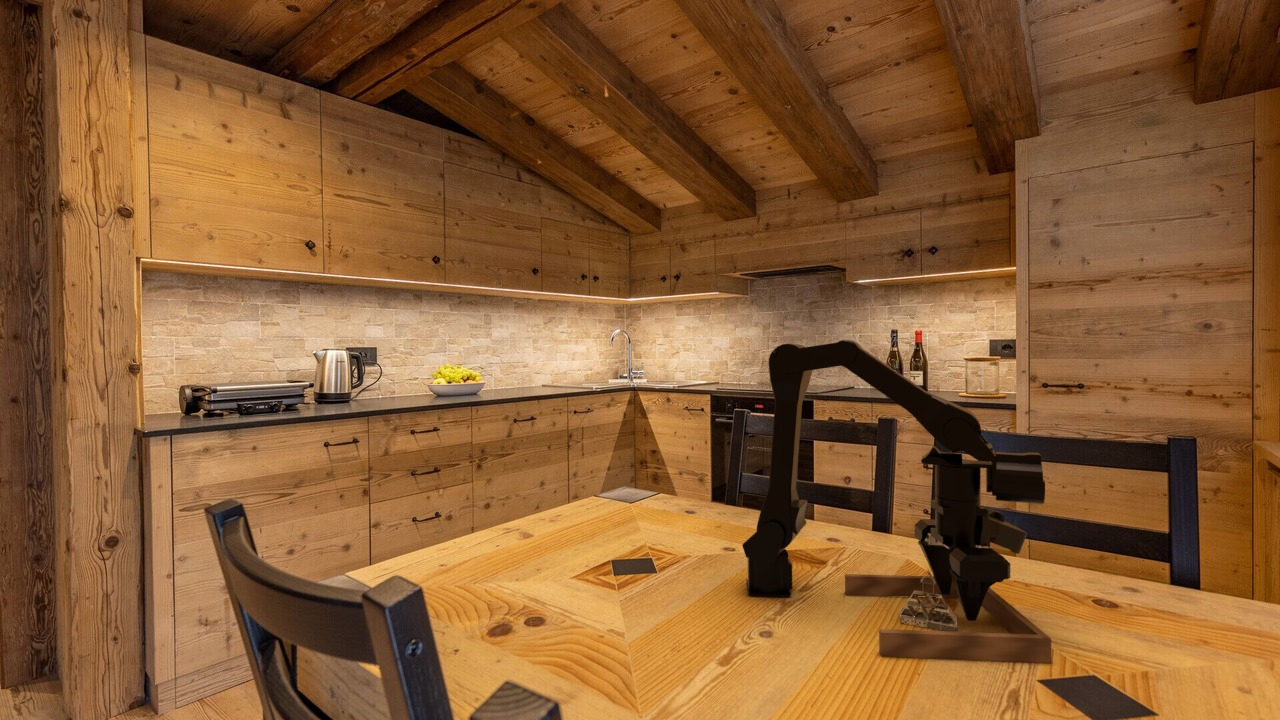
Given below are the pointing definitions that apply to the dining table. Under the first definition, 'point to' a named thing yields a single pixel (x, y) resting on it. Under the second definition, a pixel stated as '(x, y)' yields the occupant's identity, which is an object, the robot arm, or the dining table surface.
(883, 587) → the wooden arch
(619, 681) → the dining table surface
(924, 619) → the house of cards
